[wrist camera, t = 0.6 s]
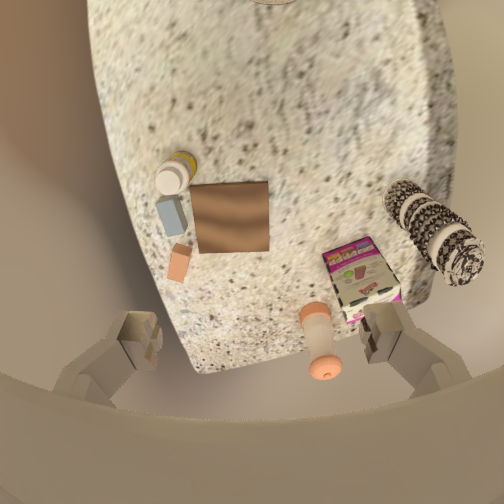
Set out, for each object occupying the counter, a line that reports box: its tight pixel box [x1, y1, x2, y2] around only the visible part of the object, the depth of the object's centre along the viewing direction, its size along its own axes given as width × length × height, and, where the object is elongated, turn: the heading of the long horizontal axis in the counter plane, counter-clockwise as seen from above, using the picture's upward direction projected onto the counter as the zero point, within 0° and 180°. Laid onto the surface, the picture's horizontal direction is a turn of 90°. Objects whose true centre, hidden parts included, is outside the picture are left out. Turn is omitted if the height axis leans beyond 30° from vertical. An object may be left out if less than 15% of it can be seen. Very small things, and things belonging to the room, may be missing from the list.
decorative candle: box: [382, 178, 485, 286], centre depth 40 cm, size 9×9×25 cm
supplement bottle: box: [155, 151, 197, 195], centre depth 43 cm, size 6×6×10 cm
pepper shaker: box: [300, 302, 342, 380], centre depth 59 cm, size 7×7×19 cm
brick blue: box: [155, 194, 188, 237], centre depth 51 cm, size 7×4×4 cm, turn 12°
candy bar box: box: [322, 236, 402, 324], centre depth 50 cm, size 11×5×16 cm, turn 115°
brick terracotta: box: [167, 243, 192, 283], centre depth 57 cm, size 7×4×4 cm, turn 161°
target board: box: [190, 181, 269, 254], centre depth 53 cm, size 14×14×1 cm
